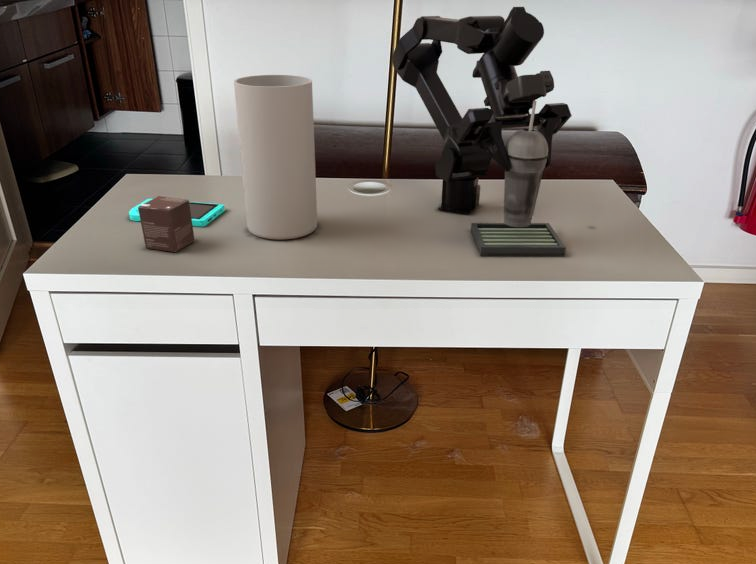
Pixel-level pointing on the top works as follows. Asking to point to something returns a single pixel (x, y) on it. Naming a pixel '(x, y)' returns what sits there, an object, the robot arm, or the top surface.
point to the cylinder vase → (277, 154)
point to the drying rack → (517, 240)
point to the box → (166, 223)
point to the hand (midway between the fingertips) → (528, 168)
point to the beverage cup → (524, 174)
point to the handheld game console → (199, 212)
